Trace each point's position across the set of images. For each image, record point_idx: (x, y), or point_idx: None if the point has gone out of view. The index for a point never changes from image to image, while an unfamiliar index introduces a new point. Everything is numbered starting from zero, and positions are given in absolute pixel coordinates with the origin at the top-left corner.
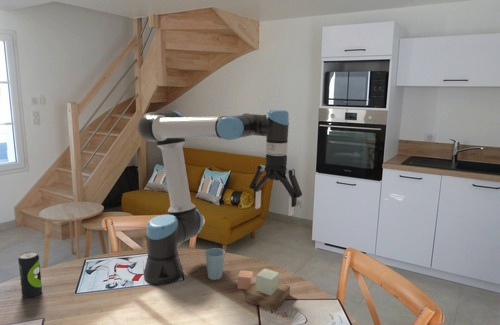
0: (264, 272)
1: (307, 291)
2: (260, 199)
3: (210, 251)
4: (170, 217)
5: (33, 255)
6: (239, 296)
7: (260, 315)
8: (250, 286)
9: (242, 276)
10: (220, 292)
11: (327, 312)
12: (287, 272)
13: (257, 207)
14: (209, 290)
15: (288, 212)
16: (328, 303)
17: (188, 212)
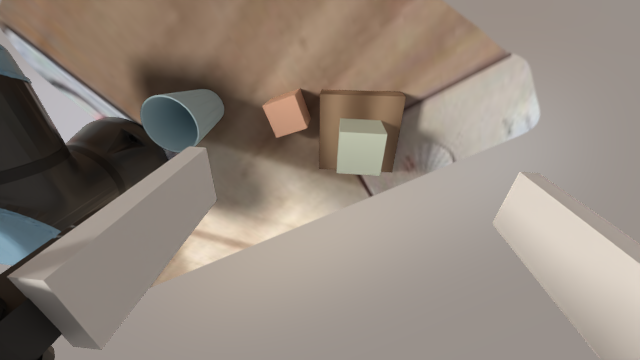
0: (349, 152)
1: (443, 49)
2: (161, 193)
3: (148, 112)
4: None
5: None
6: (303, 151)
7: (367, 184)
8: (309, 121)
9: (285, 131)
10: (264, 156)
11: (499, 117)
12: None
13: (211, 200)
14: (242, 160)
15: (507, 242)
16: (503, 79)
17: None
